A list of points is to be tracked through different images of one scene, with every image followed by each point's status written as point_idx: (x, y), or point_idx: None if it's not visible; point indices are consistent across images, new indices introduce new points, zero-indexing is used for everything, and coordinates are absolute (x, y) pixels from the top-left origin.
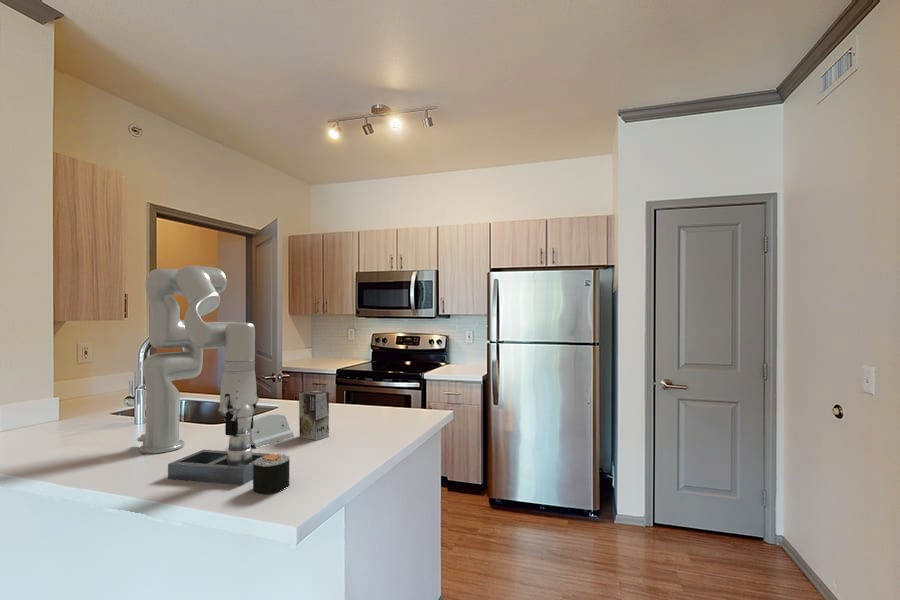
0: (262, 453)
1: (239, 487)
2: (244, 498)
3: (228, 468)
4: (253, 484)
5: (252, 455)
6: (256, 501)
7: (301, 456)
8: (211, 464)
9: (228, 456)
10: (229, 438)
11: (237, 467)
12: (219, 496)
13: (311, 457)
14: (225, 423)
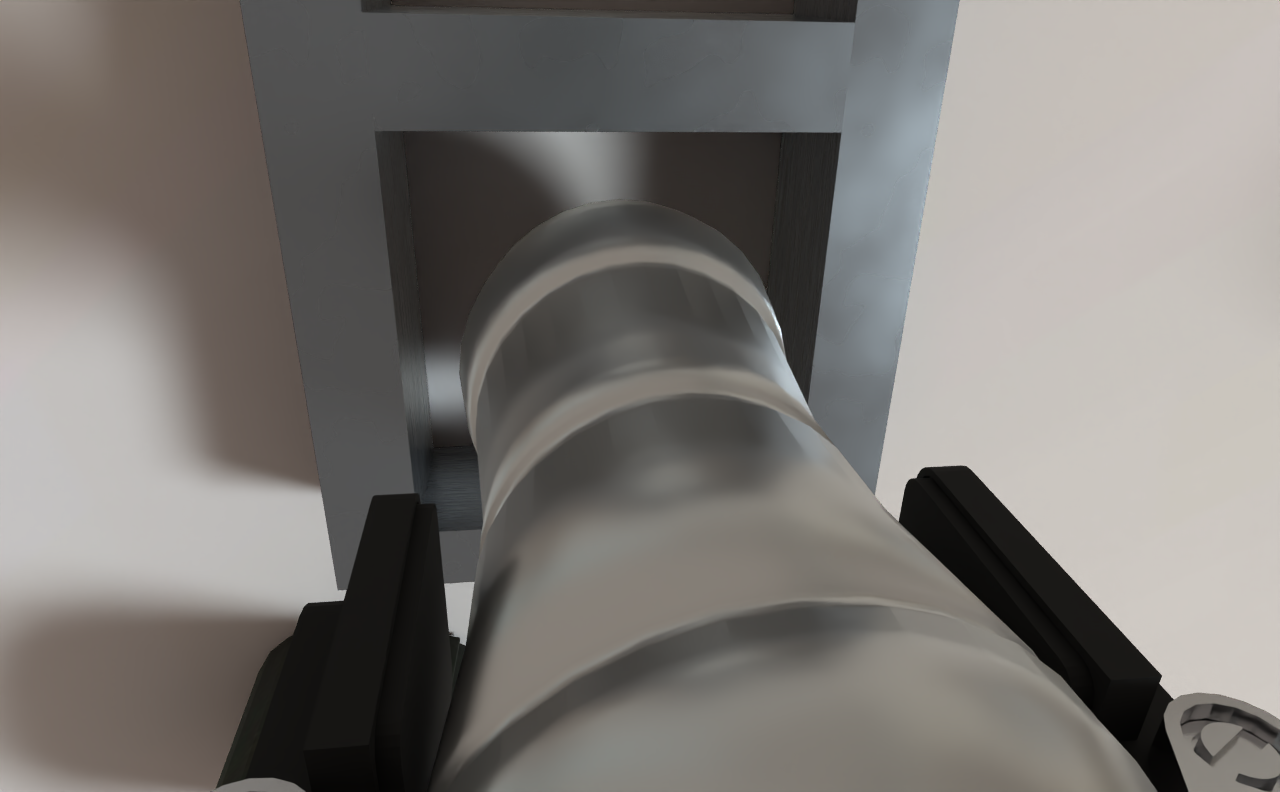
0: (875, 449)
1: (302, 504)
2: (124, 676)
3: (311, 423)
4: (254, 695)
5: (809, 375)
6: (120, 773)
7: (1131, 529)
8: (356, 105)
9: (477, 322)
10: (560, 384)
11: (365, 501)
12: (58, 481)
13: None
14: (325, 671)
